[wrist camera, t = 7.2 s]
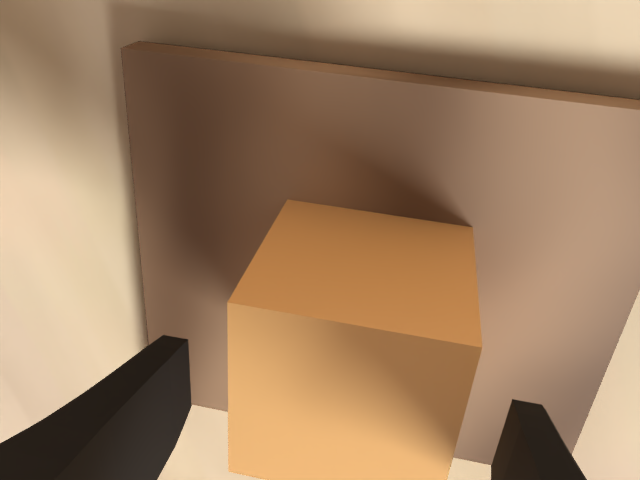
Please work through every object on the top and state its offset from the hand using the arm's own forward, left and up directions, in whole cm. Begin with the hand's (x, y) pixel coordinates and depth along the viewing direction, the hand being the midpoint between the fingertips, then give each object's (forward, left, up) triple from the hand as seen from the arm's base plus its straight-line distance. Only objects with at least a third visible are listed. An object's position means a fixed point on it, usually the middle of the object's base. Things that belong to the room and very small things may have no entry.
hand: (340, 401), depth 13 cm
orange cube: (0, 0, -5) cm, 5 cm away
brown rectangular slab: (0, 0, -6) cm, 6 cm away
